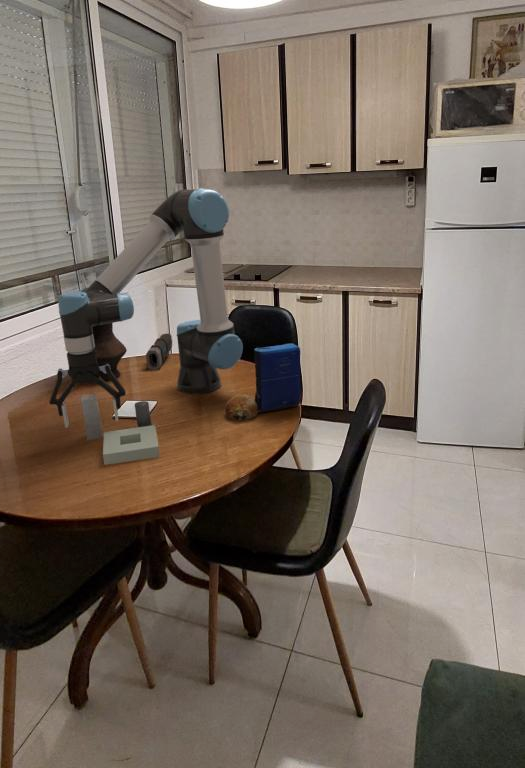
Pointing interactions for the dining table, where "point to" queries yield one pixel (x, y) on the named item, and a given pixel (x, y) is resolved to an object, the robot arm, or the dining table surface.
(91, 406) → the square peg
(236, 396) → the bread roll
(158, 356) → the tube
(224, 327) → the robot arm
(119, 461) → the socket board
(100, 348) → the jug
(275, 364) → the book
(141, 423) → the round peg
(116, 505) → the dining table surface
